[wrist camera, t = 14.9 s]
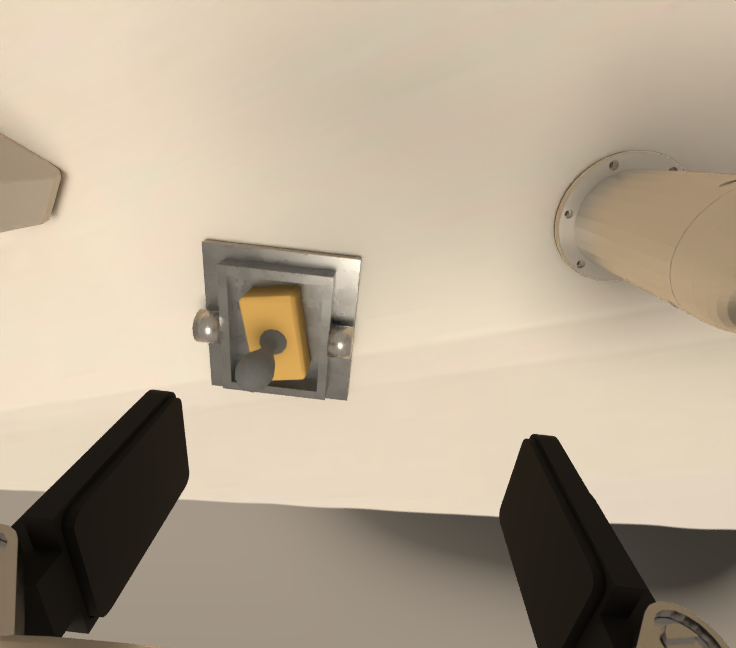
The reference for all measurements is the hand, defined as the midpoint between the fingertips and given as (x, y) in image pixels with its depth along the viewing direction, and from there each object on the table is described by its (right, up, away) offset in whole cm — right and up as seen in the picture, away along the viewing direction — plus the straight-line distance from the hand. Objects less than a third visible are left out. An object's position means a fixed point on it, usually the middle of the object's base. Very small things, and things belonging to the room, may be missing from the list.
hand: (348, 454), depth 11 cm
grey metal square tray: (-10, +4, +35) cm, 37 cm away
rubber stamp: (-9, +3, +34) cm, 36 cm away
